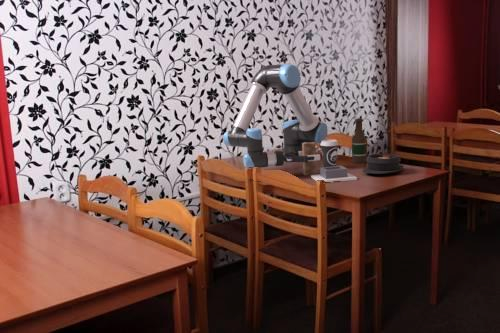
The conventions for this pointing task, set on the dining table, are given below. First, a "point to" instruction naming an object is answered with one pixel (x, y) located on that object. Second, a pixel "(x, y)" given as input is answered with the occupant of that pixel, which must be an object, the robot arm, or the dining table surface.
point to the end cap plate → (333, 174)
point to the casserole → (383, 164)
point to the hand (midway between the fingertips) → (315, 155)
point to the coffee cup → (329, 152)
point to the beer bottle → (358, 144)
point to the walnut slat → (311, 165)
